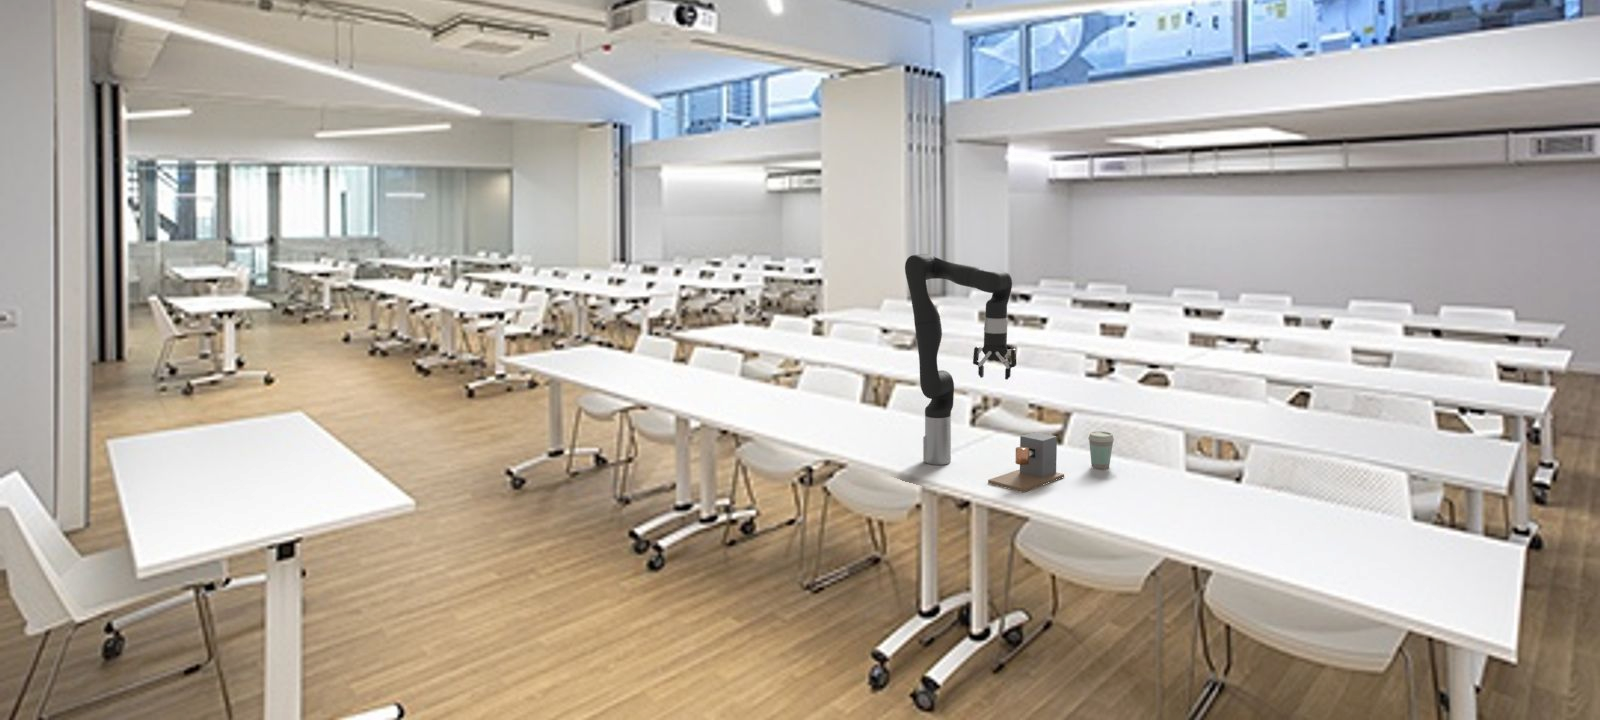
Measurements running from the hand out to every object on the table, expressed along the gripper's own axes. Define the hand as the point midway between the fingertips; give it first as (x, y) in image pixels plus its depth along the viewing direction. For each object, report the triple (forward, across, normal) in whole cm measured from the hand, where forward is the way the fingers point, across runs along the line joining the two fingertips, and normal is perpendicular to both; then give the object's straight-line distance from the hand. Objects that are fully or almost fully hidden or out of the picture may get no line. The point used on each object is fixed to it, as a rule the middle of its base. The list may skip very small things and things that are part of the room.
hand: (994, 378), depth 306 cm
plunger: (+27, -14, +2) cm, 30 cm away
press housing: (+33, -13, +4) cm, 36 cm away
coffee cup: (+33, -33, -21) cm, 51 cm away
